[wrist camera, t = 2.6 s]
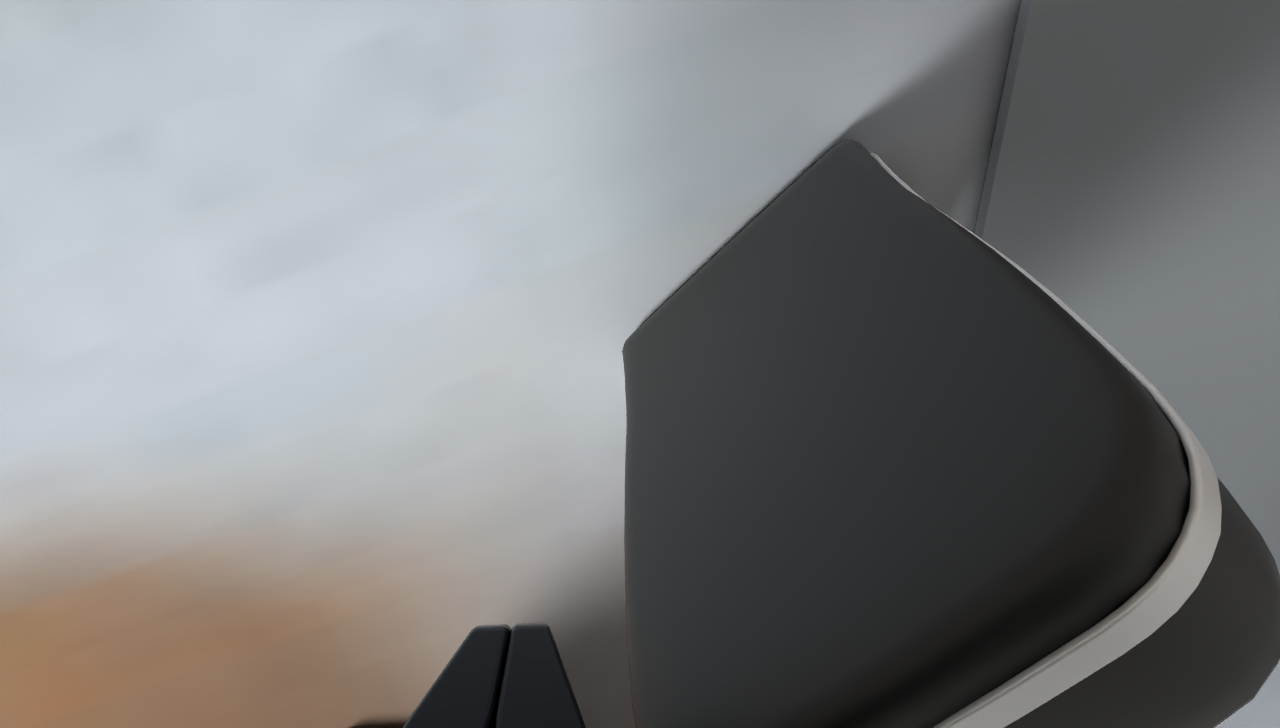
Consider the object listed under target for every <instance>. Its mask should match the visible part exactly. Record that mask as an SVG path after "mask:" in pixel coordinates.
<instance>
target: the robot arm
mask: <svg viewBox="0 0 1280 728" xmlns="http://www.w3.org/2000/svg"><path fill="white" fill-rule="evenodd" d="M403 728H586V727H585V724H584V721H583V719H582V716H581V713H580V710H579V708H578V705H577V702H576V699H575V696H574V694H573V691H572V688H571V685H570V682H569V680H568V677H567V674H566V671H565V668H564V666H563V663H562V660H561V657H560V655H559V652H558V649H557V646H556V643H555V641H554V638H553V635H552V632H551V630H550V627H549V626H548V625H547V624H546V623H528V624H516V625H515V626H513V628H512V629H511V627H510V626H508V625H482V626H477V627H475V628H474V629H472V631H471V632H470V633H469V635H468V636H467V637H466V639H465V640H464V642H463V643H462V644H461V646H460V647H459V649H458V650H457V651H456V653H455V654H454V656H453V657H452V658H451V660H450V661H449V663H448V664H447V666H446V667H445V668H444V670H443V671H442V673H441V674H440V675H439V677H438V678H437V680H436V681H435V682H434V684H433V685H432V687H431V688H430V690H429V691H428V692H427V694H426V695H425V697H424V698H423V699H422V701H421V702H420V704H419V705H418V706H417V708H416V709H415V711H414V712H413V713H412V715H411V716H410V718H409V719H408V721H407V722H406V723H405V725H404V726H403Z"/></svg>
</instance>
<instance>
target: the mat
mask: <svg viewBox="0 0 1280 728" xmlns="http://www.w3.org/2000/svg"><path fill="white" fill-rule="evenodd" d="M974 234H976V235H977V236H978V237H980V238H981V239H982V240H984V241H985V242H987V243H988V244H990V245H991V246H993V247H994V248H995V249H997V250H998V251H999V252H1001V253H1002V254H1004V255H1005V256H1006V257H1008V258H1009V259H1011V260H1012V261H1013V262H1015V263H1016V264H1017V265H1019V266H1020V267H1021V268H1023V269H1024V270H1025V271H1026V272H1028V273H1029V274H1030V275H1031V276H1033V277H1034V278H1035V279H1036V280H1038V281H1039V282H1040V283H1041V284H1043V285H1044V286H1045V287H1046V288H1048V289H1049V290H1050V291H1051V292H1053V293H1054V294H1055V295H1056V296H1058V297H1059V298H1060V299H1061V300H1062V301H1063V302H1064V303H1065V304H1067V305H1068V306H1069V307H1070V308H1071V309H1072V310H1073V311H1075V312H1076V313H1077V314H1078V315H1079V316H1080V317H1081V318H1083V319H1084V320H1085V321H1086V322H1087V323H1088V324H1089V325H1090V326H1091V327H1093V328H1094V329H1095V330H1096V331H1097V332H1098V333H1099V334H1100V335H1101V336H1102V337H1103V338H1105V339H1106V340H1107V341H1108V342H1109V343H1110V344H1111V345H1112V346H1113V347H1114V348H1115V349H1117V350H1118V351H1119V352H1120V353H1121V354H1122V355H1123V356H1124V357H1125V358H1126V359H1127V360H1128V361H1129V362H1130V363H1131V364H1132V365H1133V366H1134V367H1135V368H1137V369H1138V370H1139V371H1140V372H1141V373H1142V374H1143V375H1144V376H1145V377H1146V378H1147V379H1148V380H1149V381H1150V382H1151V383H1152V384H1153V385H1154V386H1155V387H1156V388H1157V389H1158V390H1159V391H1160V392H1161V394H1162V395H1163V396H1164V397H1165V398H1166V400H1167V401H1168V402H1169V403H1170V405H1171V406H1172V407H1173V408H1174V409H1175V411H1176V412H1177V413H1178V415H1179V416H1180V417H1181V418H1182V420H1183V421H1184V422H1185V423H1186V425H1187V426H1188V427H1189V428H1190V430H1191V431H1192V432H1193V433H1194V434H1195V436H1196V437H1197V439H1198V440H1199V442H1200V443H1201V445H1202V446H1203V448H1204V449H1205V451H1206V452H1207V454H1208V456H1209V458H1210V461H1211V463H1212V466H1213V468H1214V471H1215V473H1216V476H1217V477H1218V478H1219V480H1220V481H1221V482H1222V483H1223V484H1224V486H1225V487H1226V488H1227V489H1228V491H1229V492H1230V493H1231V495H1232V496H1233V497H1234V499H1235V500H1236V501H1237V503H1238V504H1239V505H1240V507H1241V508H1242V510H1243V511H1244V512H1245V514H1246V515H1247V516H1248V518H1249V519H1250V520H1251V522H1252V523H1253V524H1254V526H1255V527H1256V529H1257V530H1258V531H1259V533H1260V534H1261V535H1262V537H1263V539H1264V541H1265V543H1266V545H1267V546H1268V548H1269V550H1270V552H1271V554H1272V555H1273V557H1274V559H1275V562H1276V565H1277V568H1278V572H1279V575H1280V0H1021V4H1020V9H1019V14H1018V19H1017V24H1016V29H1015V34H1014V39H1013V44H1012V48H1011V53H1010V58H1009V63H1008V68H1007V73H1006V78H1005V83H1004V88H1003V93H1002V98H1001V103H1000V107H999V112H998V117H997V122H996V127H995V132H994V137H993V142H992V147H991V152H990V157H989V162H988V166H987V171H986V176H985V181H984V186H983V191H982V196H981V201H980V206H979V211H978V216H977V220H976V225H975V230H974Z"/></svg>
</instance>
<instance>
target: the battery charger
mask: <svg viewBox="0 0 1280 728" xmlns="http://www.w3.org/2000/svg"><path fill="white" fill-rule="evenodd" d="M622 352H623V360H624V372H625V391H626V408H627V434H626V460H625V533H624V540H625V588H626V611H627V630H628V647H629V664H630V678H631V693H632V706H633V712H634V717H635V723H636V728H1214V727H1216V726H1217V725H1218V724H1220V723H1221V722H1222V721H1224V720H1225V719H1227V718H1228V717H1229V716H1231V715H1232V714H1233V713H1235V712H1236V711H1237V710H1239V709H1240V708H1242V707H1243V706H1244V705H1246V704H1247V703H1248V702H1250V701H1251V700H1252V699H1254V697H1255V696H1256V694H1257V693H1258V691H1259V690H1260V688H1261V687H1262V685H1263V684H1264V683H1265V681H1266V680H1267V678H1268V677H1269V675H1270V674H1271V672H1272V671H1273V669H1274V668H1275V667H1276V665H1277V664H1278V662H1279V660H1280V575H1279V572H1278V568H1277V565H1276V562H1275V559H1274V557H1273V555H1272V554H1271V552H1270V550H1269V548H1268V546H1267V545H1266V543H1265V541H1264V539H1263V537H1262V535H1261V534H1260V533H1259V531H1258V530H1257V529H1256V527H1255V526H1254V524H1253V523H1252V522H1251V520H1250V519H1249V518H1248V516H1247V515H1246V514H1245V512H1244V511H1243V510H1242V508H1241V507H1240V505H1239V504H1238V503H1237V501H1236V500H1235V499H1234V497H1233V496H1232V495H1231V493H1230V492H1229V491H1228V489H1227V488H1226V487H1225V486H1224V484H1223V483H1222V482H1221V481H1220V480H1219V478H1218V477H1217V476H1216V473H1215V471H1214V468H1213V466H1212V463H1211V461H1210V458H1209V456H1208V454H1207V452H1206V451H1205V449H1204V448H1203V446H1202V445H1201V443H1200V442H1199V440H1198V439H1197V437H1196V436H1195V434H1194V433H1193V432H1192V431H1191V430H1190V428H1189V427H1188V426H1187V425H1186V423H1185V422H1184V421H1183V420H1182V418H1181V417H1180V416H1179V415H1178V413H1177V412H1176V411H1175V409H1174V408H1173V407H1172V406H1171V405H1170V403H1169V402H1168V401H1167V400H1166V398H1165V397H1164V396H1163V395H1162V394H1161V392H1160V391H1159V390H1158V389H1157V388H1156V387H1155V386H1154V385H1153V384H1152V383H1151V382H1150V381H1149V380H1148V379H1147V378H1146V377H1145V376H1144V375H1143V374H1142V373H1141V372H1140V371H1139V370H1138V369H1137V368H1135V367H1134V366H1133V365H1132V364H1131V363H1130V362H1129V361H1128V360H1127V359H1126V358H1125V357H1124V356H1123V355H1122V354H1121V353H1120V352H1119V351H1118V350H1117V349H1115V348H1114V347H1113V346H1112V345H1111V344H1110V343H1109V342H1108V341H1107V340H1106V339H1105V338H1103V337H1102V336H1101V335H1100V334H1099V333H1098V332H1097V331H1096V330H1095V329H1094V328H1093V327H1091V326H1090V325H1089V324H1088V323H1087V322H1086V321H1085V320H1084V319H1083V318H1081V317H1080V316H1079V315H1078V314H1077V313H1076V312H1075V311H1073V310H1072V309H1071V308H1070V307H1069V306H1068V305H1067V304H1065V303H1064V302H1063V301H1062V300H1061V299H1060V298H1059V297H1058V296H1056V295H1055V294H1054V293H1053V292H1051V291H1050V290H1049V289H1048V288H1046V287H1045V286H1044V285H1043V284H1041V283H1040V282H1039V281H1038V280H1036V279H1035V278H1034V277H1033V276H1031V275H1030V274H1029V273H1028V272H1026V271H1025V270H1024V269H1023V268H1021V267H1020V266H1019V265H1017V264H1016V263H1015V262H1013V261H1012V260H1011V259H1009V258H1008V257H1006V256H1005V255H1004V254H1002V253H1001V252H999V251H998V250H997V249H995V248H994V247H993V246H991V245H990V244H988V243H987V242H985V241H984V240H982V239H981V238H980V237H978V236H977V235H976V234H974V233H973V232H971V231H970V230H968V229H967V228H965V227H964V226H963V225H961V224H960V223H958V222H957V221H956V220H954V219H952V218H951V217H949V216H948V215H946V214H945V213H943V212H942V211H940V210H938V209H937V208H935V207H934V206H932V205H931V204H929V203H928V202H927V201H926V200H924V199H923V198H922V197H921V196H919V195H918V194H917V193H916V192H914V191H913V190H912V189H911V188H910V187H909V186H908V185H907V184H906V183H904V182H903V181H902V180H901V179H900V178H899V177H898V176H897V175H895V173H894V172H893V171H892V170H891V169H890V168H889V167H888V166H887V165H886V164H885V163H884V162H883V161H882V160H881V159H880V157H879V156H878V155H877V154H874V153H869V152H868V151H867V150H866V149H865V148H864V147H863V146H862V145H861V144H859V143H858V142H855V141H851V140H845V141H841V142H840V143H838V144H837V145H835V146H834V147H833V148H832V149H831V150H829V151H828V152H827V153H826V154H825V155H824V156H823V157H822V158H821V159H820V160H818V161H817V162H816V163H815V164H814V165H813V166H812V167H811V168H810V169H809V170H807V171H806V172H805V173H804V174H803V175H802V176H801V177H800V178H799V179H798V180H796V181H795V182H794V183H793V184H792V185H791V186H790V187H789V188H788V189H787V190H786V191H784V192H783V193H782V194H781V195H780V196H779V197H778V198H777V199H776V200H775V201H774V202H773V203H771V204H770V205H769V206H768V207H767V208H766V209H765V210H764V211H763V212H762V213H761V214H759V215H758V216H757V217H756V218H755V219H754V220H753V221H752V222H751V223H750V224H749V225H748V226H746V227H745V228H744V229H743V230H742V231H741V232H740V233H739V234H738V235H737V236H736V237H735V238H733V239H732V240H731V241H730V242H729V243H728V244H727V245H726V246H725V247H724V248H723V249H722V250H721V251H719V252H718V253H717V254H716V255H715V256H714V257H713V258H712V259H711V260H710V261H709V262H708V263H707V264H706V265H705V266H704V267H702V268H701V269H700V270H699V271H698V272H697V273H696V274H695V275H694V276H693V277H692V278H691V279H690V280H689V281H688V282H687V283H685V284H684V285H683V286H682V287H681V288H680V289H679V290H678V291H677V292H676V293H675V294H674V295H673V296H672V297H671V298H669V299H668V300H667V301H666V302H665V303H664V304H663V305H662V306H661V307H660V308H659V309H658V310H657V311H656V312H655V313H654V314H653V315H652V316H651V317H650V318H648V319H647V320H646V321H645V322H644V323H643V324H642V325H641V326H640V327H639V328H638V329H637V330H636V331H635V332H634V333H633V334H632V335H631V336H630V337H629V338H628V339H627V340H626V342H625V344H624V347H623V351H622Z"/></svg>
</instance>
